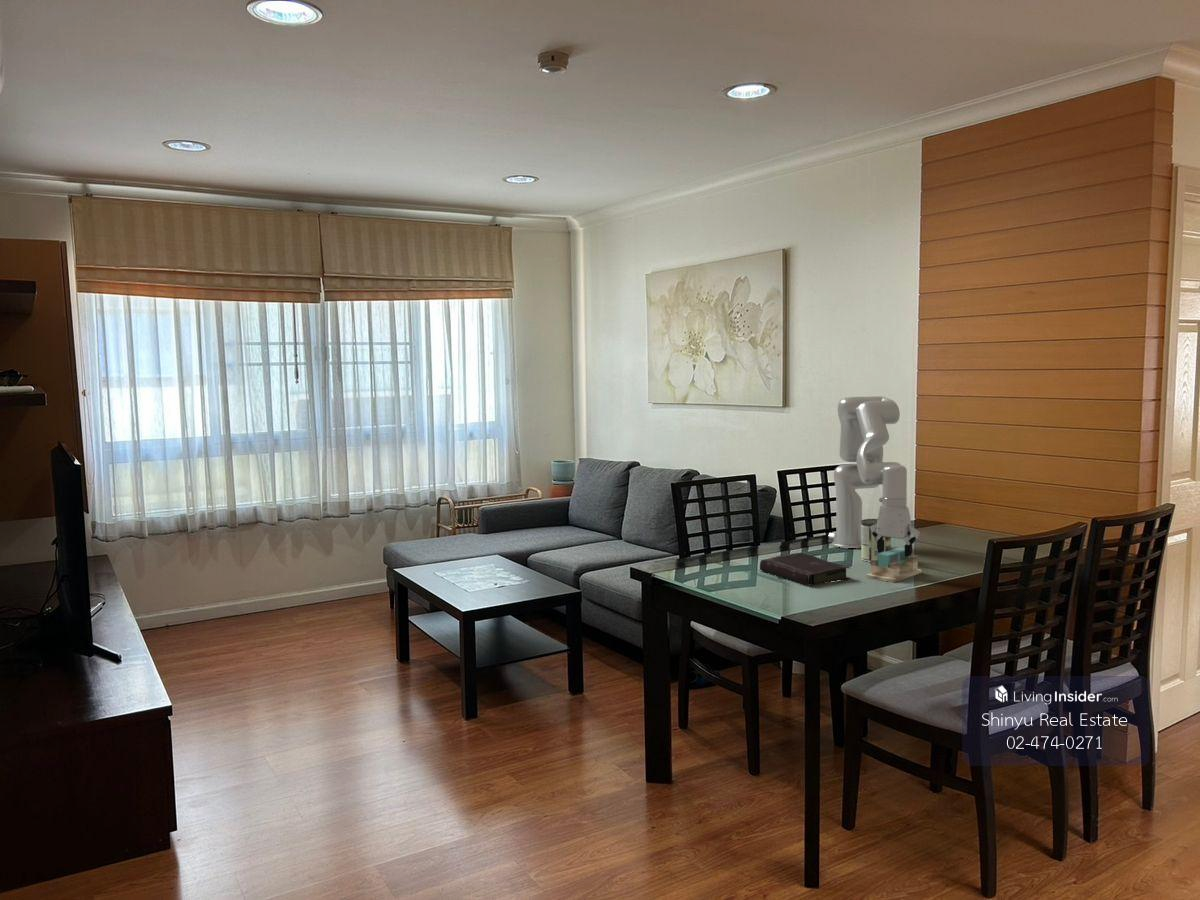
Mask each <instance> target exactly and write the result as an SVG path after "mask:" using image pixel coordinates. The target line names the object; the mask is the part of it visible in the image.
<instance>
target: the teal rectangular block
mask: <svg viewBox="0 0 1200 900" xmlns="http://www.w3.org/2000/svg"><path fill="white" fill-rule="evenodd" d="M909 557H910V556H908V557H905V547H896V548H892V549H891V550H889V551H886V552H883V553H880V554H878V566H880V567H886V568H889V567H890V563H892V562H899V564H900V563H903V562H906V561H909Z"/></svg>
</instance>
